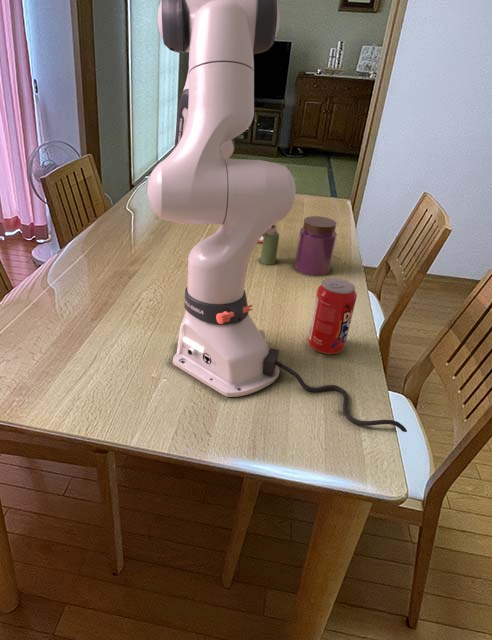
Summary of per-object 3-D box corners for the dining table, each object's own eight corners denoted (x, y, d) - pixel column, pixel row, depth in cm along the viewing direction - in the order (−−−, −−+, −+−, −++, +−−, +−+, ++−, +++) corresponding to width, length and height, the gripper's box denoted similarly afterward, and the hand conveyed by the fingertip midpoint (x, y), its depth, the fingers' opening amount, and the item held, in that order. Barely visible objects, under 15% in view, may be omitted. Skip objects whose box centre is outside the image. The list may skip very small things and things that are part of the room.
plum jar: (336, 270, 139) (346, 224, 132) (312, 278, 134) (321, 230, 127) (311, 258, 146) (319, 213, 139) (287, 265, 141) (294, 218, 133)
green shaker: (278, 262, 142) (283, 231, 137) (267, 265, 140) (271, 233, 135) (268, 257, 145) (272, 226, 140) (257, 260, 143) (261, 228, 138)
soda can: (300, 339, 107) (311, 278, 99) (330, 334, 109) (343, 274, 102) (319, 359, 101) (333, 296, 93) (351, 353, 103) (366, 291, 95)
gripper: (215, 185, 126) (248, 227, 129) (237, 168, 143) (266, 206, 145) (198, 199, 130) (230, 240, 132) (222, 181, 146) (250, 218, 149)
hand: (249, 222), depth 139 cm, fingers open, 8 cm apart
